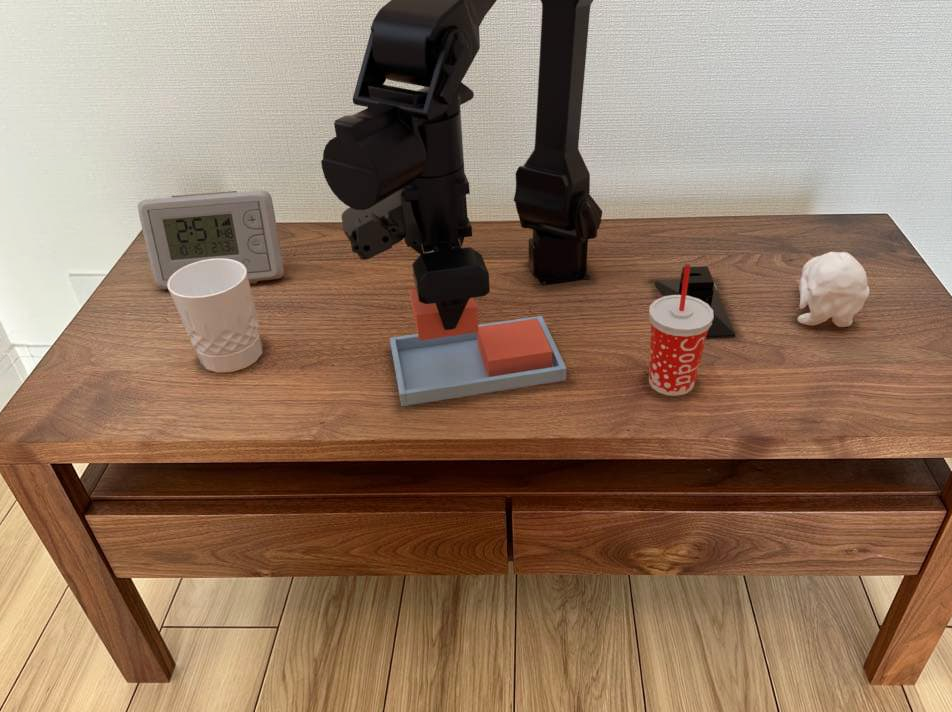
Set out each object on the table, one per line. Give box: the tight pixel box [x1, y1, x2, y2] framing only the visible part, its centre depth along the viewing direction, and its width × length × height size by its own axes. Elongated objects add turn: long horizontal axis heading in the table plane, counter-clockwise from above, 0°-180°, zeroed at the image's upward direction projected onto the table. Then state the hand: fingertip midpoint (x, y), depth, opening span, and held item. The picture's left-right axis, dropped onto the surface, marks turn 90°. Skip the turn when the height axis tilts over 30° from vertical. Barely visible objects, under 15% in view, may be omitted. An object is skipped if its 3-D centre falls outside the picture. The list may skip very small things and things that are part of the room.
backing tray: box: [389, 315, 568, 407], centre depth 81 cm, size 17×10×2 cm, turn 103°
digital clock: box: [137, 189, 285, 290], centre depth 95 cm, size 16×9×11 cm, turn 86°
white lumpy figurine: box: [796, 251, 870, 328], centre depth 86 cm, size 6×8×12 cm
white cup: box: [167, 258, 263, 374], centre depth 81 cm, size 8×8×10 cm
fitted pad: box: [477, 319, 552, 377], centre depth 81 cm, size 7×6×2 cm
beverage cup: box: [648, 263, 714, 397], centre depth 74 cm, size 6×6×14 cm
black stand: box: [654, 265, 737, 339], centre depth 88 cm, size 12×7×5 cm, turn 1°
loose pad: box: [409, 288, 479, 341], centre depth 76 cm, size 6×5×3 cm
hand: (445, 314), depth 77 cm, fingers closed on loose pad, 5 cm apart
